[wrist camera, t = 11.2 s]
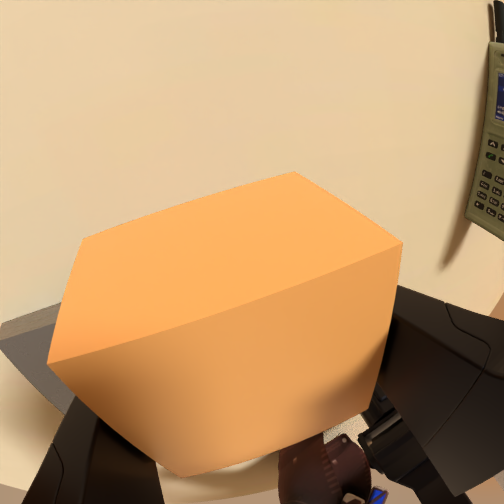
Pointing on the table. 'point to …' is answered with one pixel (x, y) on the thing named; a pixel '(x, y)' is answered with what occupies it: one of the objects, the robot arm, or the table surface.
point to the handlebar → (326, 473)
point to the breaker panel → (36, 353)
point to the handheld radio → (491, 144)
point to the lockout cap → (229, 322)
